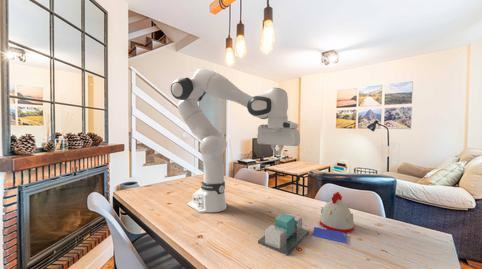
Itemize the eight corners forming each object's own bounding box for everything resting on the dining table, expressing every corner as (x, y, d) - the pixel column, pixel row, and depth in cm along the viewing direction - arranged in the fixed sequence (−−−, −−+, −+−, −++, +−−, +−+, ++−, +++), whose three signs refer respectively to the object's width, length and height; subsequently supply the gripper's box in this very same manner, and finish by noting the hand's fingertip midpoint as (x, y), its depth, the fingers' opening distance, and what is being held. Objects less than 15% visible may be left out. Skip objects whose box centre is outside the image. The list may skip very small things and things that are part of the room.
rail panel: (257, 243, 77) (258, 227, 77) (282, 224, 93) (282, 211, 93) (287, 255, 70) (287, 237, 70) (308, 233, 85) (309, 218, 85)
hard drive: (346, 232, 84) (314, 226, 90) (347, 242, 77) (312, 234, 82) (346, 236, 84) (314, 229, 90) (346, 246, 77) (311, 238, 82)
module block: (274, 234, 80) (274, 218, 80) (282, 227, 86) (283, 213, 85) (286, 238, 77) (286, 222, 77) (294, 231, 82) (294, 216, 82)
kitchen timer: (313, 224, 94) (314, 191, 93) (328, 216, 103) (329, 186, 102) (345, 236, 83) (346, 199, 83) (359, 226, 92) (360, 193, 92)
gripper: (254, 124, 97) (254, 153, 97) (295, 124, 84) (295, 157, 85) (261, 124, 102) (261, 152, 102) (301, 124, 89) (301, 156, 89)
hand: (276, 155), depth 93 cm, fingers closed
